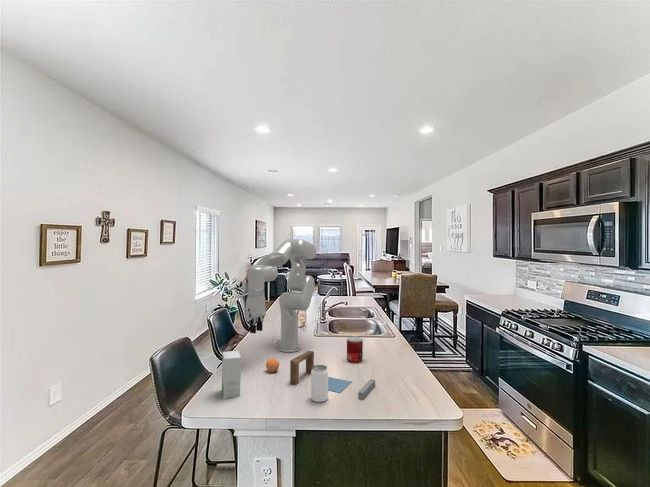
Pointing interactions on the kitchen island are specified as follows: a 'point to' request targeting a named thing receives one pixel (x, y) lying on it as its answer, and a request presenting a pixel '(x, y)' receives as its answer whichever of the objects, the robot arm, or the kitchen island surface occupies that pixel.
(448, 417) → the kitchen island surface
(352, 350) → the canned food
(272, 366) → the ball
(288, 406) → the kitchen island surface
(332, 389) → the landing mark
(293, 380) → the bridge
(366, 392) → the stopper
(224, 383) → the skincare box
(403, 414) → the kitchen island surface
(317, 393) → the can
